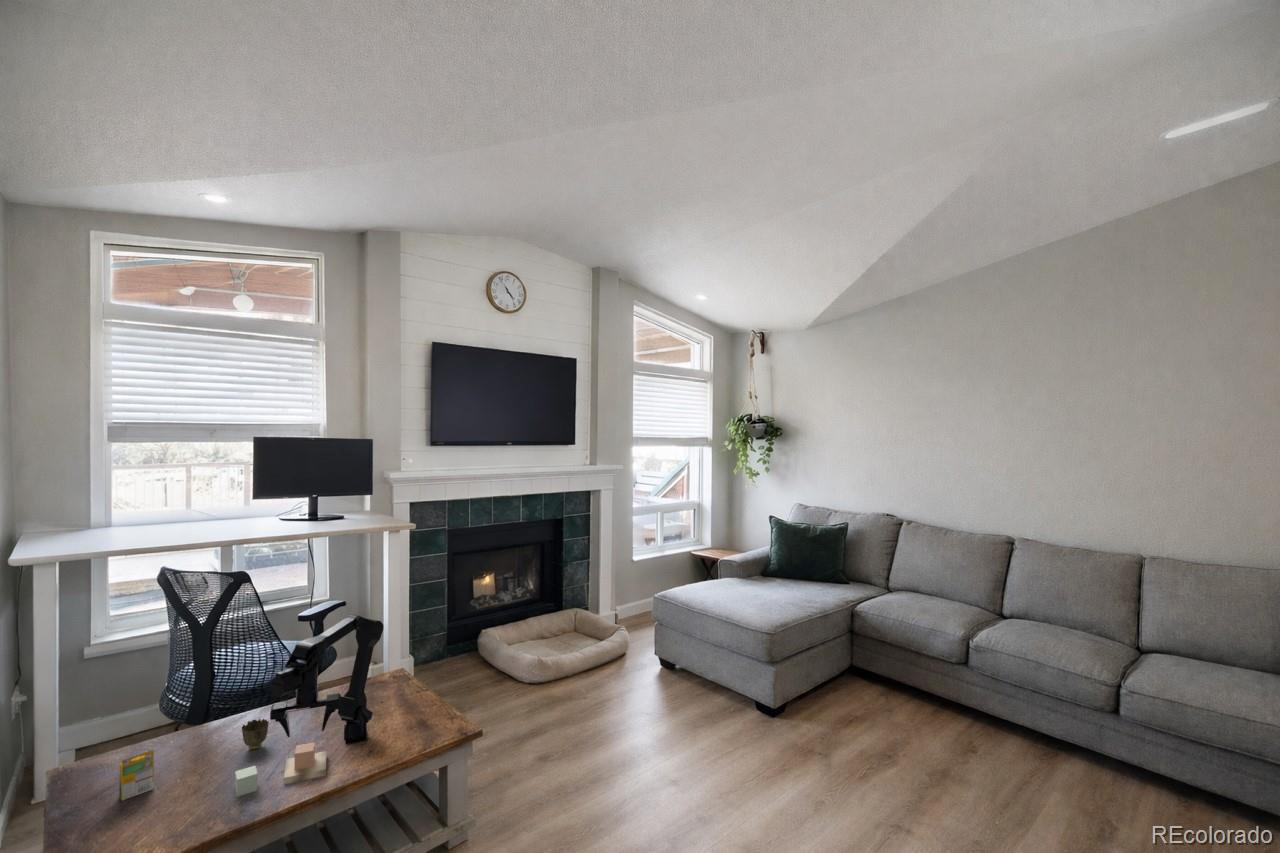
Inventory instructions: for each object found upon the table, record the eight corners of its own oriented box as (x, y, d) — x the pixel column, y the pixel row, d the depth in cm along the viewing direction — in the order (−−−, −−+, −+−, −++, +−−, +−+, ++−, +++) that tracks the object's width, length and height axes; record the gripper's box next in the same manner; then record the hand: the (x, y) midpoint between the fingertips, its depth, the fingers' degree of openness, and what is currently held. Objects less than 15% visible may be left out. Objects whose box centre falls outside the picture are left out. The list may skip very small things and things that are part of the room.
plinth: (326, 758, 192) (326, 750, 192) (325, 777, 182) (325, 769, 182) (286, 766, 187) (286, 758, 187) (283, 786, 177) (283, 777, 177)
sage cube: (255, 782, 178) (255, 765, 178) (257, 790, 174) (257, 773, 174) (234, 788, 175) (235, 771, 175) (236, 797, 171) (237, 779, 171)
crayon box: (151, 785, 176) (151, 745, 175) (154, 789, 174) (154, 749, 174) (118, 797, 170) (119, 756, 170) (121, 801, 168) (121, 760, 168)
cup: (255, 756, 192) (255, 731, 192) (235, 752, 193) (236, 728, 193) (273, 743, 199) (274, 719, 199) (254, 740, 200) (255, 717, 200)
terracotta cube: (314, 758, 188) (315, 742, 188) (313, 766, 183) (313, 750, 183) (296, 761, 186) (296, 745, 186) (294, 770, 181) (294, 753, 181)
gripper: (341, 668, 196) (340, 716, 196) (275, 677, 188) (274, 727, 188) (340, 682, 186) (339, 732, 186) (270, 692, 178) (269, 745, 178)
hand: (306, 733), depth 184 cm, fingers open, 9 cm apart
